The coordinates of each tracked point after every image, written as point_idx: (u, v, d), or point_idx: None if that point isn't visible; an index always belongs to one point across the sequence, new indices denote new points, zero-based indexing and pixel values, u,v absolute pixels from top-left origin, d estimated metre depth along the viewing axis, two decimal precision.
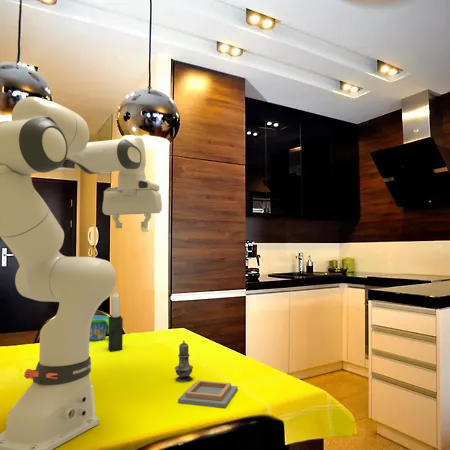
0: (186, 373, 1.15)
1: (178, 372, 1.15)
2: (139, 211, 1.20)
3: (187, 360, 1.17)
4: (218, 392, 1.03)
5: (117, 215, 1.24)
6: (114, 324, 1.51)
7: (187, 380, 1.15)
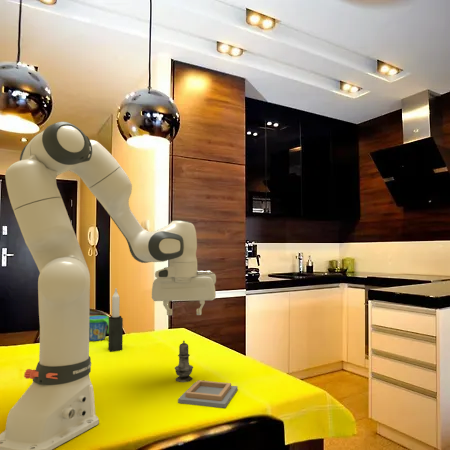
0: (186, 373, 1.15)
1: (178, 372, 1.15)
2: None
3: (187, 360, 1.17)
4: (218, 392, 1.03)
5: None
6: (114, 324, 1.51)
7: (187, 380, 1.15)
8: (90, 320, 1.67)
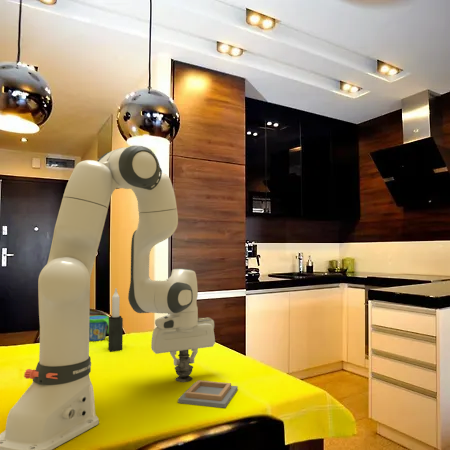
0: (186, 373, 1.15)
1: (178, 372, 1.15)
2: None
3: (187, 360, 1.17)
4: (218, 392, 1.03)
5: (192, 349, 1.19)
6: (114, 324, 1.51)
7: (187, 380, 1.15)
8: (90, 320, 1.67)
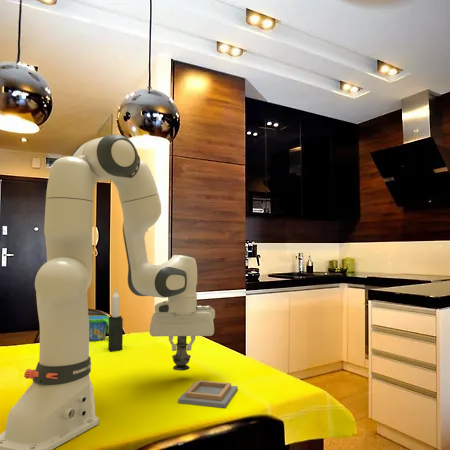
0: (181, 362, 1.15)
1: (174, 360, 1.16)
2: None
3: (184, 349, 1.16)
4: (218, 392, 1.03)
5: None
6: (114, 324, 1.51)
7: (182, 369, 1.15)
8: (90, 320, 1.67)
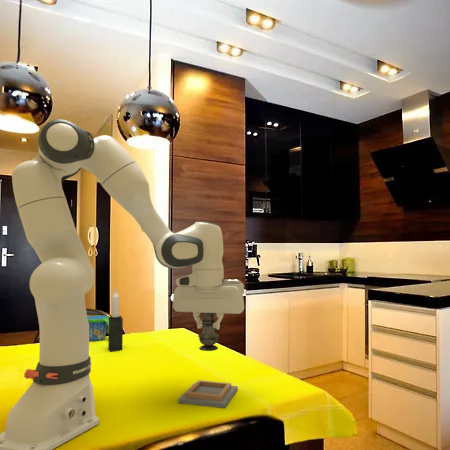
0: (205, 341, 1.02)
1: (199, 339, 1.04)
2: None
3: (209, 327, 1.03)
4: (218, 392, 1.03)
5: None
6: (114, 324, 1.51)
7: (207, 349, 1.02)
8: (90, 320, 1.67)
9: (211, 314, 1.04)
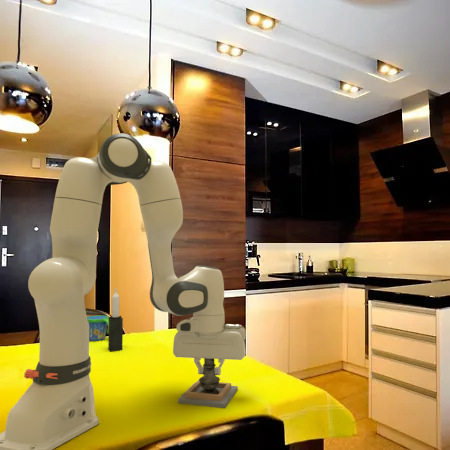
0: (207, 386, 1.01)
1: (200, 383, 1.03)
2: None
3: (211, 371, 1.02)
4: None
5: None
6: (114, 324, 1.51)
7: None
8: (90, 320, 1.67)
9: None
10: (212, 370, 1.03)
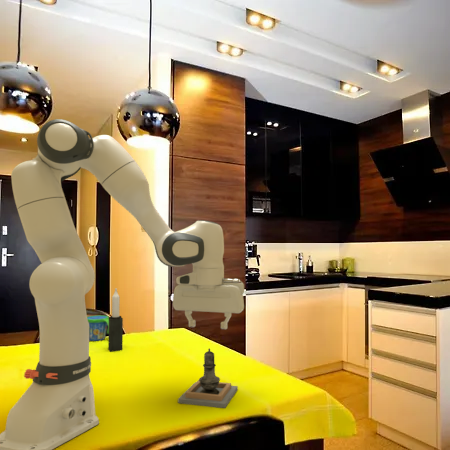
0: (207, 386, 1.01)
1: (200, 383, 1.03)
2: None
3: (211, 371, 1.02)
4: None
5: None
6: (114, 324, 1.51)
7: None
8: (90, 320, 1.67)
9: (212, 358, 1.03)
10: (212, 370, 1.03)
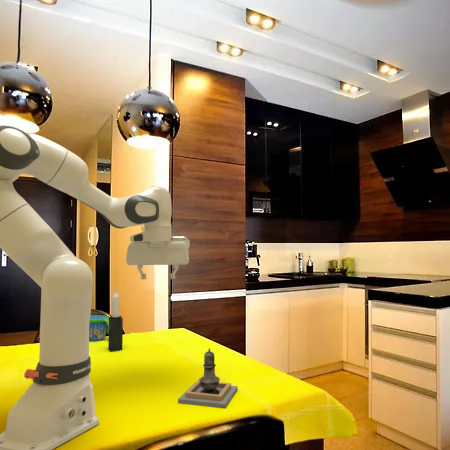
0: (207, 386, 1.01)
1: (200, 383, 1.03)
2: None
3: (211, 371, 1.02)
4: None
5: (174, 265, 1.22)
6: (114, 324, 1.51)
7: None
8: (90, 320, 1.67)
9: (212, 358, 1.03)
10: (212, 370, 1.03)
